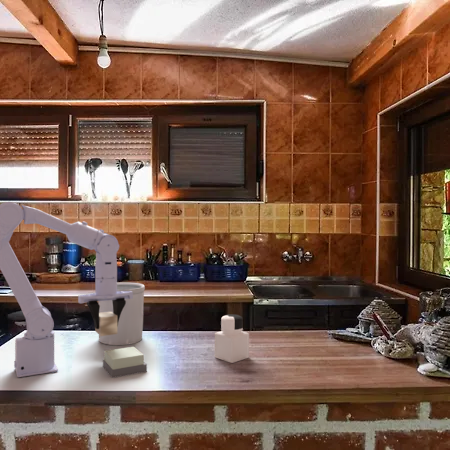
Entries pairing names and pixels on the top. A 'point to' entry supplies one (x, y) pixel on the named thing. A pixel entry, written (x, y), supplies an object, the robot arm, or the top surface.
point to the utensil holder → (126, 316)
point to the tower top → (123, 357)
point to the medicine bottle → (231, 340)
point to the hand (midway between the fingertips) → (106, 326)
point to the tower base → (124, 370)
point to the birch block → (107, 324)
